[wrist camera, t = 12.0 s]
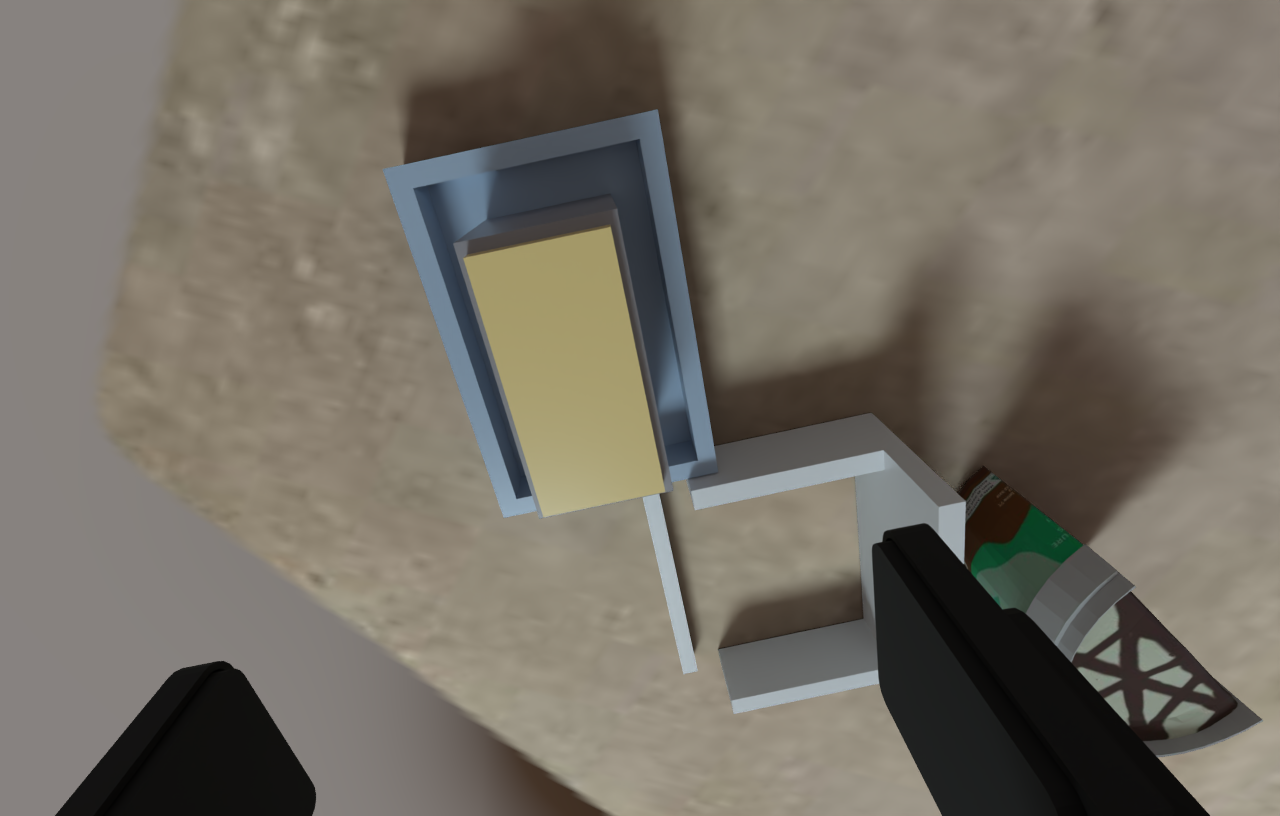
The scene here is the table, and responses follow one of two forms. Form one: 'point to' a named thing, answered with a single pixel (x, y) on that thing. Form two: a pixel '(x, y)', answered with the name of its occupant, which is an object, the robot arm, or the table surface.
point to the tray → (540, 177)
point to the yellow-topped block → (568, 353)
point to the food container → (1095, 622)
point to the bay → (886, 500)
